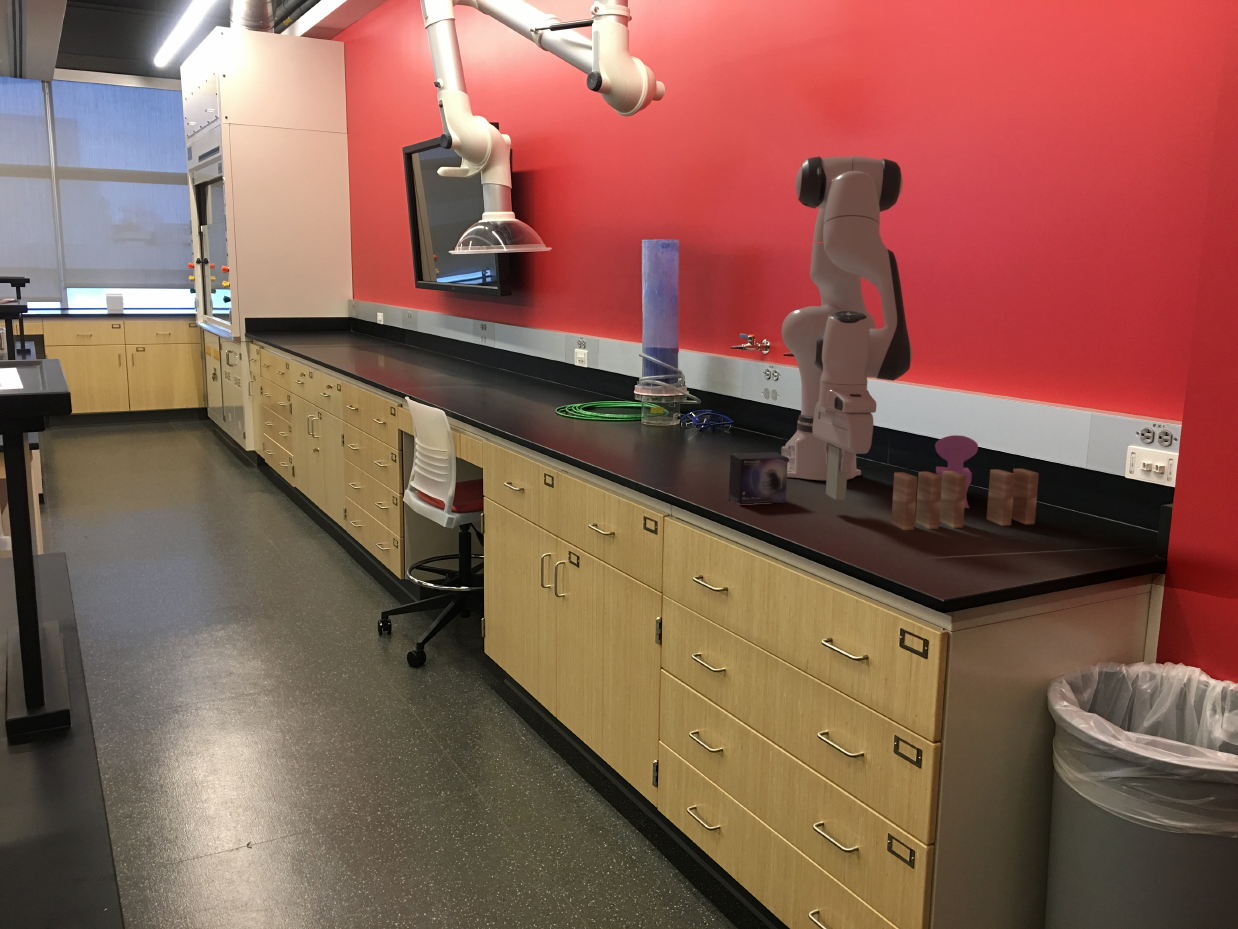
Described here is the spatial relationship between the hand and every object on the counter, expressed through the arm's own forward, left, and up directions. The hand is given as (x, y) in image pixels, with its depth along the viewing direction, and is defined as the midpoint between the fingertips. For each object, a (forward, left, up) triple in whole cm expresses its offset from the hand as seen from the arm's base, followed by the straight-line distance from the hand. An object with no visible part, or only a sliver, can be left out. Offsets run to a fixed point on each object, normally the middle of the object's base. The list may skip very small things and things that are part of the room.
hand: (837, 468), depth 192 cm
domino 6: (+11, +34, -10) cm, 37 cm away
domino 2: (+11, +9, -10) cm, 17 cm away
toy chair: (-6, +28, -10) cm, 31 cm away
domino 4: (+11, +19, -10) cm, 24 cm away
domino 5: (+11, +29, -10) cm, 32 cm away
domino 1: (0, 0, -6) cm, 6 cm away
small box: (-13, -11, -10) cm, 20 cm away
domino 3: (+11, +14, -10) cm, 20 cm away
